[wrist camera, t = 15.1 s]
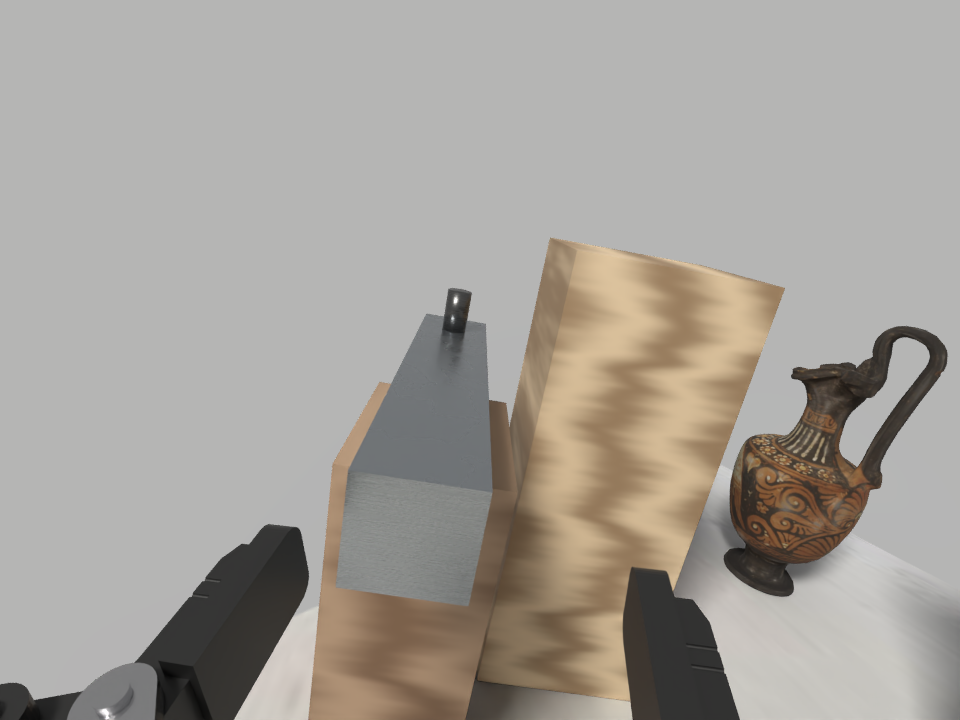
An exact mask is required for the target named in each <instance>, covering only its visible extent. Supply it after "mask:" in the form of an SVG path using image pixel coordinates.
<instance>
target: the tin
mask: <svg viewBox="0 0 960 720" xmlns="http://www.w3.org/2000/svg"><path fill="white" fill-rule="evenodd" d="M471 295H472V293H471V292H469V291H466V290H462V289H455V288H450V289H448V296H447V302H446V309H445V315H444V317H443V316H437V315H431V314H426V316H425V318H424V320H423V322H422V324H421V326H420V328H419V330H418V332H417V334H416V336H415V338H414V340H413V342H412V344H411V346H410V348H409V350H408V352H407V353H406V356H405V357H404V359H403V361H402V364H401V365H400V367H399V369H398V371H397V374H396V375H395V377H394V380H393V382H392V383H391V385H390V387H389V389H388V391H387V393H386V395H385V397H384V399H383V401H382V403H381V405H380V407H379V409H378V411H377V413H376V415H375V417H374V419H373V421H372V423H371V425H370V427H369V429H368V431H367V433H366V435H365V437H364V439H363V441H362V443H361V445H360V447H359V449H358V451H357V453H356V455H355V457H354V459H353V461H352V463H351V465H350V467H349V469H348V474H347V484H346V493H345V503H344V512H343V521H342V531H341V540H340V550H339V559H338V569H337V578H336V587H335V588H342V589H349V590H356V591H363V592H370V593H377V594H384V595H391V596H399V597H406V598H413V599H420V600H427V601H434V602H441V603H448V604H455V605H462V606H469V602H470V597H471V592H472V588H473V583H474V578H475V573H476V569H477V564H478V559H479V555H480V550H481V545H482V540H483V536H484V531H485V526H486V522H487V517H488V512H489V507H490V503H491V498H492V493H493V489H492V465H491V441H490V417H489V393H488V369H487V346H486V324H483V323H477V322H472V321H467V318H468V312H469V306H470V301H471Z"/></svg>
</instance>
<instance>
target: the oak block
mask: <svg viewBox="0 0 960 720" xmlns="http://www.w3.org/2000/svg"><path fill="white" fill-rule="evenodd" d="M784 289H785V288H783V287H779V286H775V285H772V284H768V283H765V282H761V281H757V280H753V279H750V278H745V277H742V276H738V275H735V274H731V273H727V272H724V271H720V270H716V269H713V268H709V267H705V266H702V265H696V264H691V263H686V262H680V261H675V260H670V259H664V258H658V257H653V256H648V255H642V254H636V253H631V252H626V251H621V250H615V249H609V248H604V247H599V246H593V245H588V244H582V243H577V242H571V241H566V240H561V239H555V238H550V240H549V245H548V250H547V254H546V259H545V264H544V268H543V273H542V278H541V282H540V287H539V292H538V297H537V301H536V306H535V310H534V315H533V320H532V324H531V329H530V334H529V338H528V343H527V348H526V352H525V357H524V362H523V366H522V371H521V376H520V380H519V385H518V390H517V395H516V399H515V404H514V409H513V413H512V418H511V422H510V427H509V429H510V437H511V445H512V453H513V461H514V468H515V476H516V484H517V492H518V493H517V497H516V502H515V506H514V510H513V515H512V519H511V523H510V528H509V532H508V536H507V541H506V545H505V549H504V554H503V558H502V562H501V567H500V571H499V575H498V580H497V584H496V588H495V593H494V597H493V601H492V606H491V610H490V614H489V619H488V623H487V627H486V632H485V636H484V641H483V645H482V649H481V654H480V658H479V662H478V667H477V681H484V682H491V683H499V684H506V685H514V686H521V687H529V688H536V689H543V690H551V691H558V692H566V693H573V694H581V695H588V696H595V697H603V698H610V699H618V700H625V701H630V693H629V685H628V677H627V669H626V661H625V653H624V645H623V612H624V606H625V600H626V594H627V588H628V582H629V575H630V570H631V568H632V567H639V568H647V569H656V570H665V571H667V573H668V575H669V578H670V582H671V586H672V590H674V588H675V585H676V582H677V580H678V577H679V574H680V571H681V569H682V566H683V563H684V561H685V558H686V555H687V552H688V550H689V547H690V544H691V542H692V539H693V536H694V534H695V531H696V528H697V525H698V523H699V520H700V517H701V515H702V512H703V509H704V506H705V504H706V501H707V498H708V496H709V493H710V490H711V487H712V485H713V482H714V479H715V477H716V474H717V471H718V468H719V466H720V463H721V460H722V458H723V455H724V452H725V449H726V447H727V444H728V441H729V439H730V436H731V433H732V430H733V428H734V425H735V422H736V420H737V417H738V414H739V411H740V409H741V406H742V403H743V401H744V398H745V395H746V392H747V390H748V387H749V384H750V382H751V379H752V376H753V373H754V371H755V368H756V365H757V363H758V360H759V357H760V354H761V352H762V349H763V346H764V344H765V341H766V338H767V336H768V333H769V330H770V327H771V325H772V322H773V319H774V317H775V314H776V311H777V308H778V306H779V303H780V300H781V297H782V295H783V292H784Z"/></svg>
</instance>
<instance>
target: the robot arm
mask: <svg viewBox="0 0 960 720" xmlns="http://www.w3.org/2000/svg"><path fill="white" fill-rule="evenodd" d="M308 580H309V571H308V566H307V561H306V556H305V551H304V546H303V541H302V536H301V532H300V530H299V529H298V528H297V527H289V526H280V525H271V524H268V525H266V526H264V527H263V528H262V529H261V530H260V531H259V533H258V534H257V535H256V537H255V538H254V539H253V540H252V542H251V543H250V544H249V545H247V544H241V545H240V546H238V547H237V548H235V549H234V550H233V551H231V552H230V553H229V554H227V555H226V556H224V557H223V558H222V559H221V560H220V561H219V562H218V563H217V564H216V566H215V567H214V568H213V569H212V570H211V572H210V573H209V574H208V575H207V576H206V579H205V581H203V582H201V584H200V585H199V586H198V587H197V588H196V590H195V591H194V592H193V595H192V597H189V598H188V600H187V601H186V602H185V603H184V604H183V605H182V607H181V608H180V609H179V611H178V612H177V613H176V614H175V615H174V616H173V618H172V619H171V620H170V621H169V622H168V624H167V625H166V626H165V627H164V628H163V630H162V631H161V632H160V633H159V635H158V636H157V637H156V638H155V639H154V641H153V642H152V643H151V644H150V645H149V647H148V648H147V649H146V650H145V652H144V653H143V654H142V655H141V656H140V657H139V659H138V660H137V661H136V662H135V663H131V664H126V665H122V666H120V667H117V668H115V669H113V670H110V671H109V672H107V673H105V674H103V675H102V676H100V677H99V678H98V679H96V680H95V681H94V682H93V683H91V684H90V685H89V686H88V687H87V688H86V689H85V690H84V691H82V692H77V693H71V694H66V695H60V696H55V697H49V698H44V699H38V700H33V698H32V696H31V694H30V693H29V691H28V689H27V688H26V687H25V686H23V685H22V684H18V683H7V684H1V685H0V720H234V718H235V717H236V715H237V713H238V711H239V710H240V708H241V706H242V704H243V703H244V701H245V699H246V697H247V696H248V694H249V692H250V690H251V689H252V687H253V685H254V683H255V682H256V680H257V678H258V676H259V675H260V673H261V671H262V669H263V668H264V666H265V664H266V662H267V661H268V659H269V657H270V656H271V654H272V652H273V650H274V649H275V647H276V645H277V643H278V642H279V640H280V638H281V636H282V635H283V633H284V631H285V629H286V628H287V626H288V624H289V622H290V621H291V619H292V617H293V615H294V614H295V612H296V610H297V608H298V607H299V605H300V603H301V601H302V599H303V598H304V595H305V592H306V589H307V586H308ZM623 645H624V653H625V661H626V669H627V677H628V685H629V693H630V701H631V709H632V717H633V720H740V718H739V715H738V712H737V709H736V706H735V702H734V699H733V696H732V693H731V690H730V686H729V683H728V680H727V677H726V674H724V667H723V664H722V661H721V657H720V654H719V652H718V651H717V645H716V641H715V638H714V635H713V632H712V629H711V625H710V622H709V621H708V620H707V618H706V617H705V616H704V614H703V613H702V611H701V610H700V609H699V607H698V606H697V605H696V603H695V602H694V601H693V600H691V599H683V598H675V597H674V594H673V590H672V586H671V582H670V578H669V575H668V573H667V571H665V570H656V569H647V568H639V567H632V568H631V570H630V575H629V582H628V588H627V594H626V600H625V606H624V612H623Z"/></svg>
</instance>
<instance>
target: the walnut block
mask: <svg viewBox="0 0 960 720" xmlns="http://www.w3.org/2000/svg"><path fill="white" fill-rule="evenodd" d="M390 385H391V384H388V383H382V382H379V384H378V386H377V388H376V389H375V391H374V393H373V394H372V396H371V398H370V400H369V401H368V403H367V405H366V407H365V409H364V410H363V412H362V414H361V415H360V417H359V419H358V421H357V422H356V424H355V426H354V428H353V429H352V431H351V433H350V435H349V436H348V438H347V440H346V442H345V443H344V445H343V447H342V448H341V450H340V452H339V454H338V455H337V457H336V459H335V461H334V463H333V466H332V476H331V487H330V498H329V508H328V518H327V529H326V540H325V550H324V561H323V571H322V583H321V592H320V603H319V613H318V624H317V634H316V645H315V655H314V666H313V677H312V687H311V698H310V708H309V719H308V720H465V719H466V714H467V710H468V706H469V701H470V697H471V693H472V688H473V684H474V680H475V675H476V671H477V667H478V662H479V658H480V654H481V649H482V645H483V641H484V636H485V632H486V627H487V623H488V619H489V614H490V610H491V606H492V601H493V597H494V593H495V588H496V584H497V580H498V575H499V571H500V567H501V562H502V558H503V554H504V549H505V545H506V541H507V536H508V532H509V528H510V523H511V519H512V515H513V510H514V506H515V502H516V497H517V493H518V492H517V484H516V476H515V468H514V461H513V453H512V445H511V437H510V429H509V422H508V414H507V407H506V403H504V402H498V401H492V400H489V417H490V441H491V465H492V489H493V493H492V498H491V503H490V507H489V512H488V517H487V522H486V526H485V531H484V536H483V540H482V545H481V550H480V555H479V559H478V564H477V569H476V573H475V578H474V583H473V588H472V592H471V597H470V602H469V606H462V605H455V604H448V603H441V602H434V601H427V600H420V599H413V598H406V597H399V596H391V595H384V594H377V593H370V592H363V591H356V590H349V589H342V588H335V587H336V578H337V569H338V559H339V550H340V540H341V531H342V521H343V512H344V503H345V493H346V484H347V474H348V469H349V467H350V465H351V463H352V461H353V459H354V457H355V455H356V453H357V451H358V449H359V447H360V445H361V443H362V441H363V439H364V437H365V435H366V433H367V431H368V429H369V427H370V425H371V423H372V421H373V419H374V417H375V415H376V413H377V411H378V409H379V407H380V405H381V403H382V401H383V399H384V397H385V395H386V393H387V391H388V389H389V387H390Z"/></svg>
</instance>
